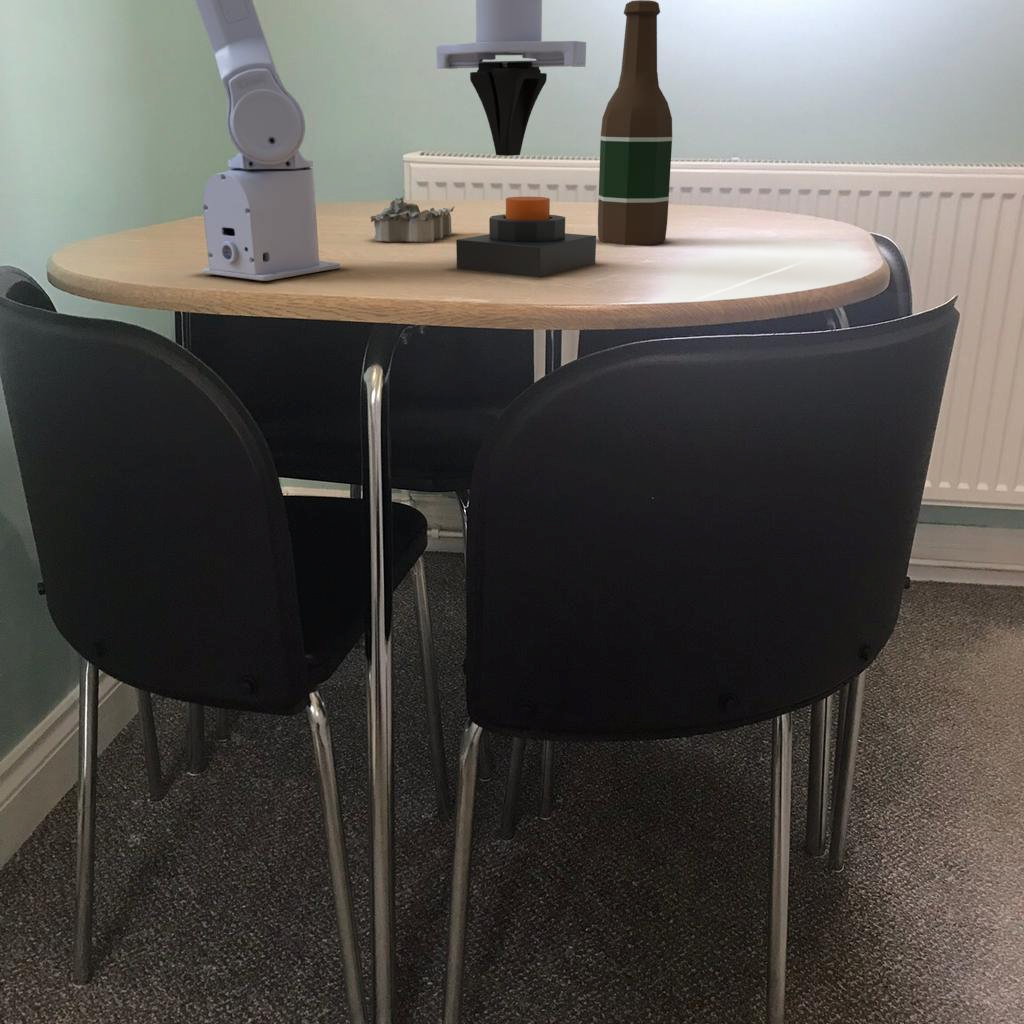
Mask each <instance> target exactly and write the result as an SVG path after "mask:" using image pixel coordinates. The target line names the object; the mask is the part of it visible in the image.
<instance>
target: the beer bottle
mask: <svg viewBox="0 0 1024 1024" xmlns="http://www.w3.org/2000/svg"><path fill="white" fill-rule="evenodd" d="M660 13H661V8H660V4H659V2H657V1H656V0H631V1H629V2H627V3H626V4H625V6H624V10H623V14H624V16H625V26H624V27H625V29H624V38H623V39H624V40H623V48H622V49H623V50H622V59H621V69H620V70H621V71H620V74H619V75H620V76H619V81H618V85H617V88H616V90H615V91H614V92H613V94H612V96H611V97H610V99H609V100H608V102H607V104H606V107H605V110H604V113H603V115H602V118H601V119H602V120H601V130H600V143H599V171H598V172H599V173H598V198H597V199H598V202H597V206H598V207H597V238H598V240H599V241H600V242H601V243H603V244H609V245H610V244H611V245H622V246H655V245H659V244H660V245H661V244H664V243H665V240H666V238H667V229H668V217H669V201H670V200H669V198H670V185H671V167H672V166H671V165H672V149H673V117H672V113H671V109H670V105H669V102H668V100H667V99H666V97H665V95H664V93H663V92H662V90H661V88H660V83H659V75H658V15H660Z"/></svg>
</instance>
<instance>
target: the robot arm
mask: <svg viewBox="0 0 1024 1024" xmlns="http://www.w3.org/2000/svg"><path fill="white" fill-rule="evenodd" d="M194 3H195V6H196V8H197V11H198V13H199V16H200V19H201V22H202V25H203V27H204V30H205V33H206V35H207V38H208V41H209V45H210V47H211V49H212V52H213V55H214V58H215V61H216V66H217V69H218V72H219V77H220V79H221V82H222V85H223V88H224V91H225V95H226V100H227V111H226V118H225V119H226V130H227V133H228V136H229V139H230V141H231V143H232V144H233V146H234V147H235V149H237V151H238V153H237V154H236V155H235V156H234V157H233V158H229V159H227V167H229V168H228V169H227V170H226V171H222V172H221V171H220V172H218V173H215V174H213V175H212V176H211V177H210V178H209V179H208V180H207V181H206V184H205V186H204V190H203V194H202V212H203V222H204V230H205V231H204V232H205V241H206V249H207V258H208V259H207V260H208V266H207V267H204V268H203V273H204V274H208V275H216V276H224V277H229V278H230V277H232V278H239V279H246V280H254V281H262V282H268V281H274V280H280V279H285V278H290V277H297V276H302V275H307V274H313V273H319V272H325V271H330V270H336V269H340V268H341V263H340V262H334V261H325V260H320V251H319V237H318V234H319V233H318V222H317V221H318V219H317V207H316V206H317V205H316V204H317V203H316V192H315V176H314V175H315V174H314V168H312V167H313V166H314V162H313V160H309V159H307V158H305V156H304V155H302V153H301V151H300V148H301V146H302V144H303V142H304V139H305V135H306V120H305V115H304V112H303V109H302V107H301V105H300V103H299V102H298V101H297V99H296V98H295V97H294V96H293V94H292V93H290V92H289V91H288V90H287V88H286V87H285V86H284V84H283V82H282V81H281V78H280V74H279V72H278V69H277V66H276V63H275V61H274V58H273V55H272V53H271V49H270V46H269V44H268V41H267V38H266V35H265V32H264V29H263V27H262V24H261V21H260V18H259V15H258V13H257V9H256V7H255V3H254V0H194ZM542 27H543V0H475V42H467V43H465V42H463V43H453V44H437V45H436V47H435V49H436V69H446V70H459V69H477V70H476V71H471V72H469V80H470V83H471V84H472V86H473V88H474V90H475V92H476V93H477V95H478V98H479V101H480V102H481V104H482V107H483V110H484V112H485V115H486V119H487V122H488V126H489V129H490V134H491V137H492V138H491V139H492V142H493V146H494V152H495V155H496V156H503V157H512V156H514V157H515V156H521V152H522V147H523V143H524V139H525V134H526V130H527V127H528V123H529V121H530V117H531V114H532V111H533V109H534V106H535V104H536V102H537V99H538V98H539V95H540V93H541V92H542V89H543V88H544V86H545V85H546V83H547V76H548V74H547V72H541V69H540V68H550V67H551V68H554V67H557V68H558V67H559V68H560V67H572V68H585V67H587V66H586V63H587V42H586V41H579V40H543V39H542V34H543V31H542V29H543V28H542ZM496 56H521V57H522V59H531V60H496V59H497V58H496ZM495 60H496V61H495Z"/></svg>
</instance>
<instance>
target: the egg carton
mask: <svg viewBox="0 0 1024 1024" xmlns="http://www.w3.org/2000/svg"><path fill="white" fill-rule="evenodd" d="M389 203H390V204H389V207H385V208H384V209H383V210H382V212H380V213H376V214H375V215H371V216H370V218H369V219H370V223H373V225H374V231H375V232H374V241H375V242H381V243H383V242H384V243H386V242H387V243H394V242H395V243H396V242H406V243H407V242H408V243H409V242H410V243H432V242H435V240H437V239H443V238H444V236H451V235H452V233H453V231H452V216H451V213H452V212H454V209H455V206H452V207H450V208H447V207H443V208H439V209H437V210H435V208H434V207H431V208H429V209H425V210H423V211H420V207H419V205H417V204H416V203H412V202H411V203H408V202H404V197H403V196H400V197H399V198H398V197H396V198H395V199H393V200H391V202H389Z"/></svg>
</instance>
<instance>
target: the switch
mask: <svg viewBox="0 0 1024 1024" xmlns="http://www.w3.org/2000/svg"><path fill="white" fill-rule="evenodd" d="M550 205H551V200H550V198H549V197H545V196H509V197H506V198H505V214H506V219H513V220H545V219H549V215H551V214H550V211H551V208H550V207H551V206H550Z"/></svg>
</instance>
